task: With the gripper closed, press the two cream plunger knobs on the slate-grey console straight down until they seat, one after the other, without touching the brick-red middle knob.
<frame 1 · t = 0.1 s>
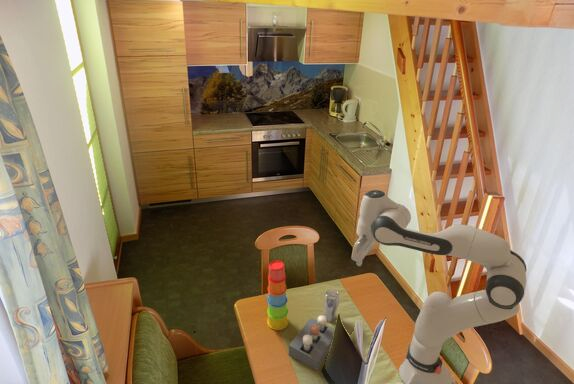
hand: (363, 258, 152), 48 cm above the table, fingers open, 8 cm apart
stacking cups: (277, 322, 183), on the table
knob 1: (307, 343, 162), point 9 cm above the table, slide at 0.0 cm
beer glass: (329, 317, 187), on the table
console: (313, 347, 171), on the table
knob 2: (321, 323, 172), point 9 cm above the table, slide at 0.0 cm
knob mid: (314, 333, 167), point 9 cm above the table, slide at 0.0 cm
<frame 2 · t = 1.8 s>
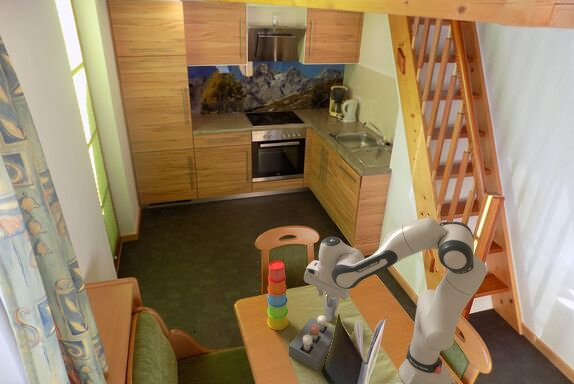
hand: (324, 296, 164), 25 cm above the table, fingers open, 3 cm apart
nothing on the table moved.
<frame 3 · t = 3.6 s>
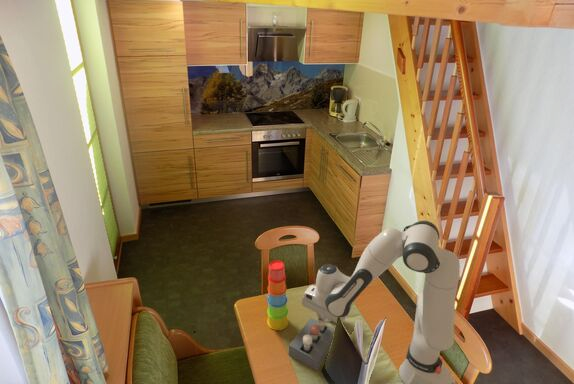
hand: (321, 320, 171), 11 cm above the table, fingers closed, pressing on knob 2
knob 2: (321, 325, 173), point 8 cm above the table, slide at 1.0 cm, touching gripper
everything else where it was.
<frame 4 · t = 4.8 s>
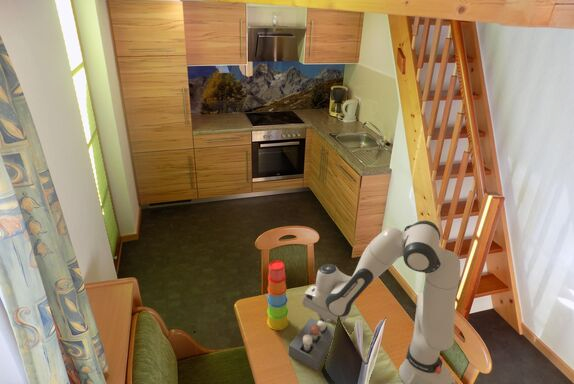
hand: (323, 320, 171), 11 cm above the table, fingers closed
knob 2: (321, 328, 174), point 6 cm above the table, slide at 3.2 cm
everything else where it was.
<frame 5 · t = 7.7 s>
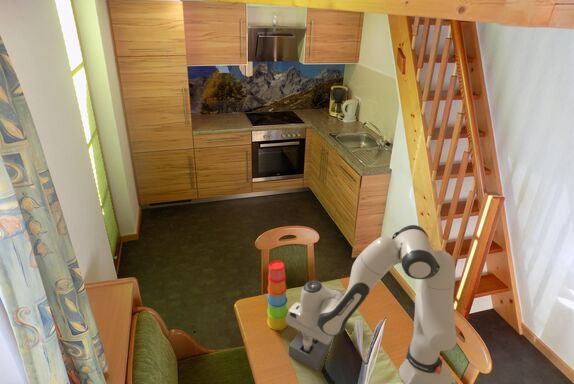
hand: (307, 339, 161), 11 cm above the table, fingers closed, pressing on knob 1
knob 1: (307, 344, 163), point 8 cm above the table, slide at 0.7 cm, touching gripper
everything else where it was.
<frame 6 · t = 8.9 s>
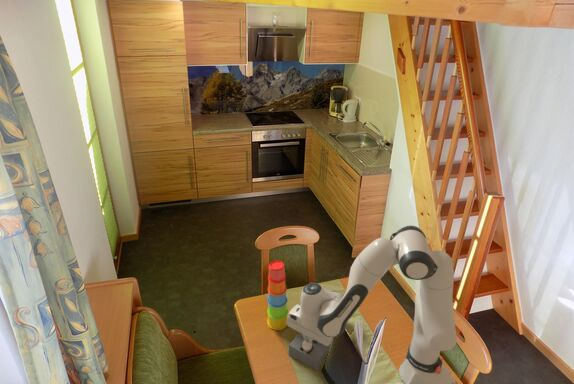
hand: (308, 341, 162), 10 cm above the table, fingers closed
knob 1: (306, 348, 164), point 6 cm above the table, slide at 3.2 cm
everything else where it was.
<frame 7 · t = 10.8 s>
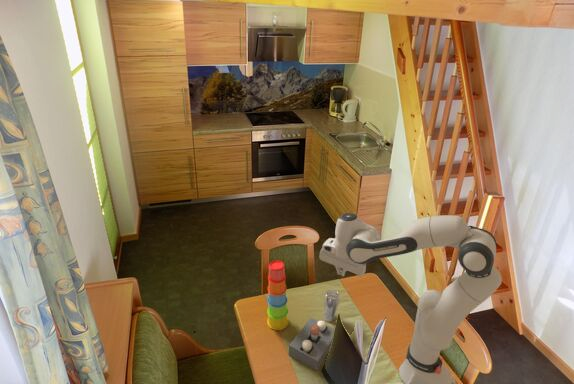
hand: (340, 274, 165), 33 cm above the table, fingers closed
nothing on the table moved.
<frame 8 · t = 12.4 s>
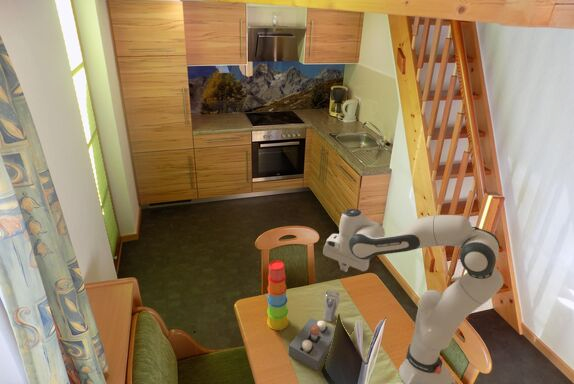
hand: (343, 270, 167), 34 cm above the table, fingers closed
nothing on the table moved.
at the end: knob 2 slide at 3.2 cm; knob 1 slide at 3.2 cm; knob mid slide at 0.0 cm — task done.
